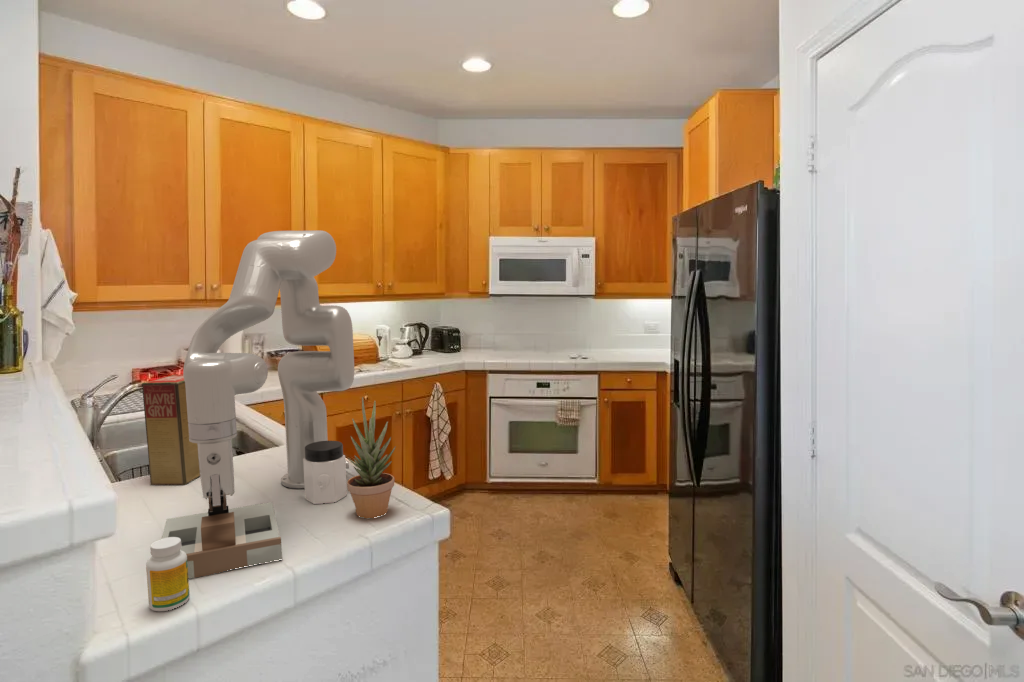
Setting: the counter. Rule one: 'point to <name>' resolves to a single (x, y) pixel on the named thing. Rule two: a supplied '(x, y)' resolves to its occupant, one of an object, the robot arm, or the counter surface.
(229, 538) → the walnut block
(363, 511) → the potted plant
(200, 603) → the counter surface
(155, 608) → the supplement bottle
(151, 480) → the food packaging
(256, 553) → the board
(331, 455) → the jar
